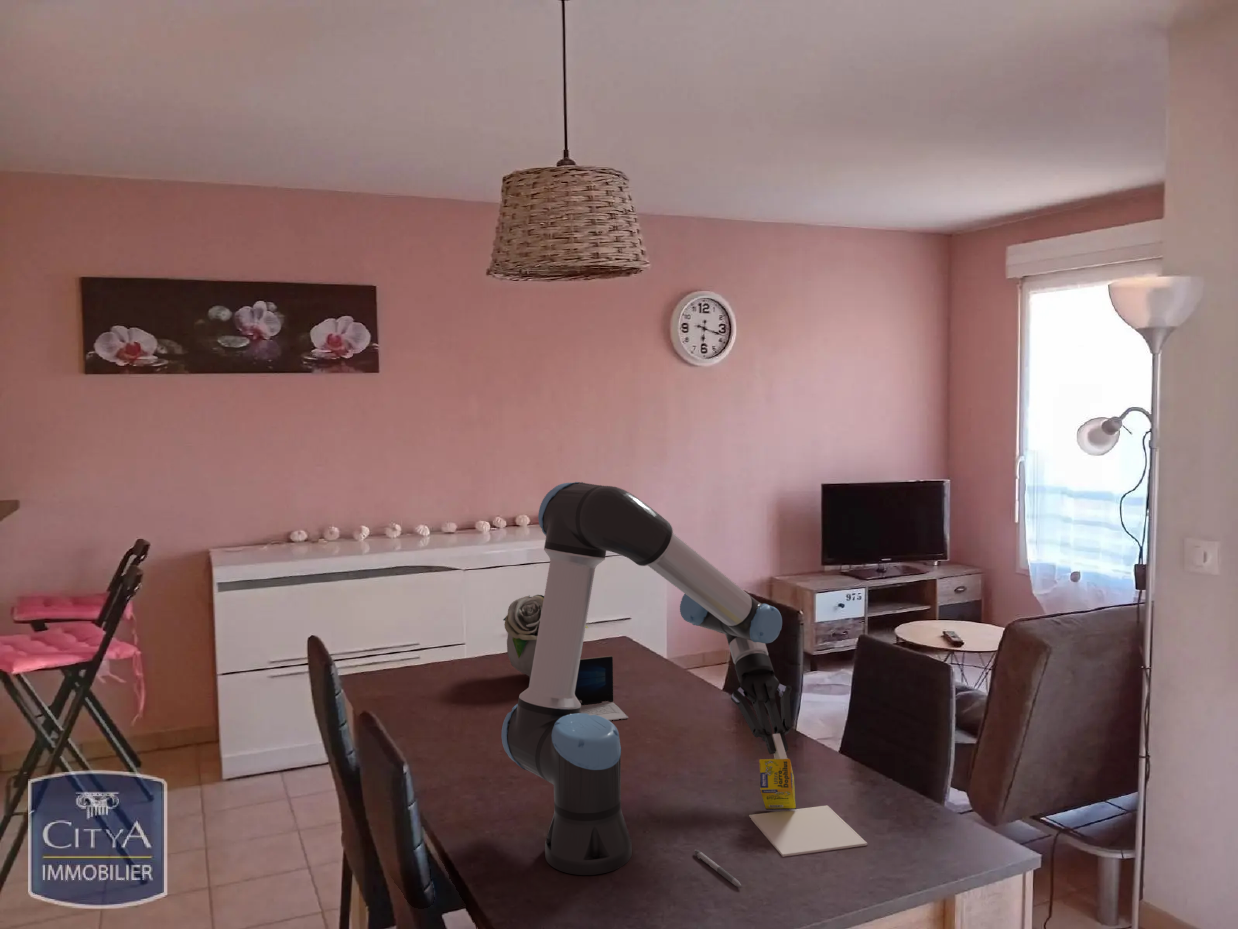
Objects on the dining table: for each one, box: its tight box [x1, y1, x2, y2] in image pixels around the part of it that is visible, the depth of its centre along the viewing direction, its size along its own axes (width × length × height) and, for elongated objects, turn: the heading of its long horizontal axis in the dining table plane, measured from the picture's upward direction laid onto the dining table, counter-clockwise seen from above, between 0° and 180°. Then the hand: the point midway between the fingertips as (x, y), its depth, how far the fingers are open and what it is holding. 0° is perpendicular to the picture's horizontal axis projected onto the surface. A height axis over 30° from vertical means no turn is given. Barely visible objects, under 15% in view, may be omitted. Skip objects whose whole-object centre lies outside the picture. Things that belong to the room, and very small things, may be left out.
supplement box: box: [758, 758, 797, 811], centre depth 180 cm, size 6×6×11 cm
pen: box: [694, 849, 742, 888], centre depth 160 cm, size 1×14×1 cm, turn 27°
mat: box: [748, 805, 868, 858], centre depth 175 cm, size 16×16×1 cm
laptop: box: [575, 655, 629, 722], centre depth 239 cm, size 18×12×13 cm
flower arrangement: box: [502, 594, 589, 679], centre depth 268 cm, size 25×25×24 cm
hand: (783, 768), depth 185 cm, fingers closed
